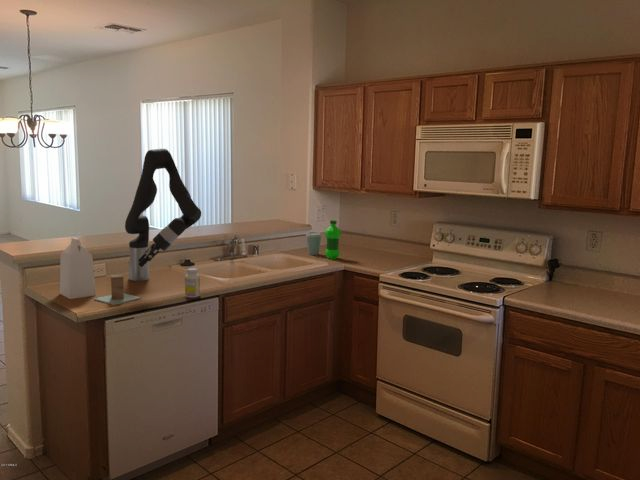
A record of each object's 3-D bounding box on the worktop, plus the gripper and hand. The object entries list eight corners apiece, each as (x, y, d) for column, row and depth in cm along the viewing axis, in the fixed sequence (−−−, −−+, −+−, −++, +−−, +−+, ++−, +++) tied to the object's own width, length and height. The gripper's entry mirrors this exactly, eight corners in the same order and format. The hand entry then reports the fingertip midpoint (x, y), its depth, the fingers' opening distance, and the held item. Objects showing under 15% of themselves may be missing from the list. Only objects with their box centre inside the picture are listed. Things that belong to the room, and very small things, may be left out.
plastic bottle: (321, 258, 353) (322, 220, 349) (331, 256, 361) (332, 219, 357) (333, 260, 346) (334, 222, 342) (343, 258, 354) (344, 220, 350)
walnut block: (112, 296, 241) (111, 275, 240) (123, 296, 243) (123, 274, 241) (111, 299, 237) (111, 277, 235) (123, 299, 238) (123, 277, 237)
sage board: (94, 299, 238) (94, 298, 238) (121, 293, 249) (121, 292, 249) (113, 305, 230) (113, 303, 230) (140, 298, 242) (140, 297, 242)
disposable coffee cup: (323, 255, 365) (324, 233, 362) (310, 256, 359) (310, 234, 357) (316, 252, 374) (316, 231, 371) (302, 253, 368) (303, 232, 366)
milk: (60, 293, 247) (57, 237, 243) (85, 290, 255) (83, 235, 251) (69, 299, 238) (67, 241, 234) (95, 295, 246) (93, 239, 242)
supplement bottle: (193, 293, 254) (193, 267, 252) (202, 296, 249) (202, 269, 247) (182, 296, 248) (181, 269, 246) (191, 298, 244) (190, 271, 242)
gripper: (159, 230, 248) (133, 255, 246) (160, 234, 235) (133, 261, 233) (171, 241, 251) (145, 266, 249) (173, 246, 237) (146, 272, 235)
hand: (139, 263), depth 241 cm, fingers open, 8 cm apart
